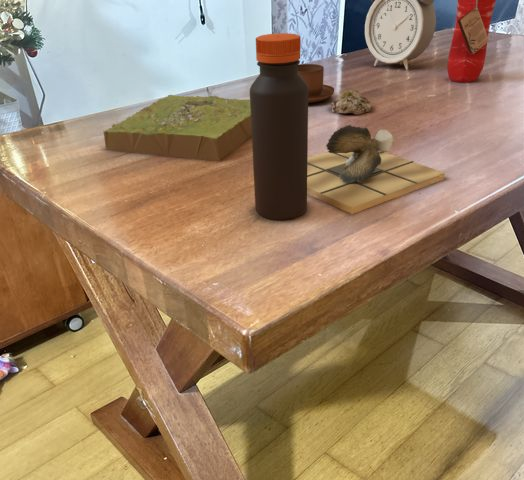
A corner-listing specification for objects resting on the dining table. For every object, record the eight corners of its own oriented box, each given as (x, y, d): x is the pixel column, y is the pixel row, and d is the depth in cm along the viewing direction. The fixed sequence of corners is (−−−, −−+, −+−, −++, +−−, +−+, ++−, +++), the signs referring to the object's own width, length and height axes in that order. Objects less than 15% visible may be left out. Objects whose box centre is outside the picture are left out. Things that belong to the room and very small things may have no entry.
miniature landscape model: (105, 150, 94) (99, 120, 90) (172, 112, 110) (168, 86, 107) (218, 161, 87) (215, 129, 84) (271, 120, 104) (270, 91, 101)
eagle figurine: (337, 149, 82) (313, 156, 75) (368, 108, 78) (344, 112, 71) (373, 183, 81) (352, 194, 74) (406, 144, 77) (386, 152, 70)
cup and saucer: (292, 110, 108) (292, 77, 104) (268, 97, 117) (267, 66, 113) (344, 101, 112) (346, 69, 108) (316, 90, 121) (317, 59, 117)
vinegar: (245, 215, 70) (234, 40, 58) (272, 196, 75) (267, 30, 62) (291, 225, 67) (289, 43, 55) (316, 205, 72) (320, 33, 59)
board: (444, 179, 77) (445, 171, 76) (351, 214, 69) (352, 205, 68) (356, 149, 89) (356, 141, 88) (268, 176, 81) (268, 168, 80)
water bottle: (479, 88, 116) (507, -57, 100) (440, 87, 118) (462, -56, 103) (483, 76, 125) (509, -60, 109) (447, 74, 127) (468, -59, 111)
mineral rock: (372, 104, 101) (332, 90, 101) (364, 127, 104) (325, 114, 104) (378, 92, 109) (340, 79, 110) (370, 113, 112) (334, 101, 113)
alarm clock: (358, 66, 138) (365, -39, 125) (376, 60, 143) (384, -42, 130) (417, 73, 130) (431, -40, 116) (433, 66, 135) (449, -43, 121)
